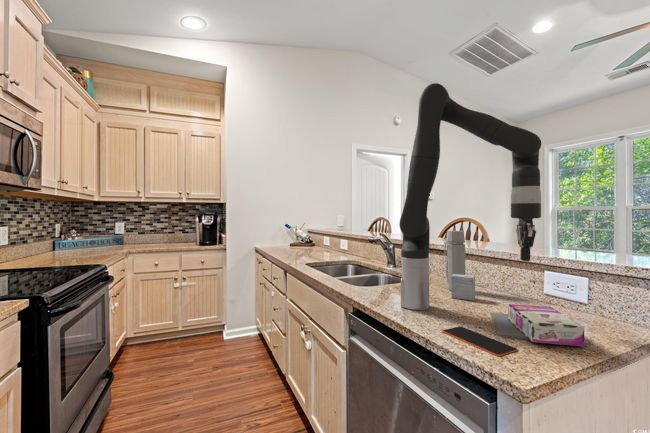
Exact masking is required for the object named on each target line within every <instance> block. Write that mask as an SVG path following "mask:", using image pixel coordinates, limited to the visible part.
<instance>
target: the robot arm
mask: <svg viewBox="0 0 650 433" xmlns="http://www.w3.org/2000/svg"><path fill="white" fill-rule="evenodd" d="M417 114H418V115H417V126H416V132H415V135H414V140H413V144H412V145H413V146H412V152H411V155H410V162H409V170H408V177H407V178H408V179H407V185H406V196H405V201H404V206H403V208H402V213H401V216H400V219H399V225H398V226H399V229H400V232H401V233H402V246H401V248H400V250H401V251H400V256H401V262H400V263H401V279H400V307H401V308H405V309H408V310H414V311H422V310H423V311H425V310H429V309H430V235H431V234H430V231H431V230H430V228H431V227H430V221H429V218H428V205H429V199H430V195H431V193H432V189H433V188H434V184H435V181H436V178H437V174H438V171H439V170H438V168H439V163H440V158H441V157H440V156H441V139H440V138H441V136H440V135H441V132H440V130H441V128H440V127H441V123H442V121H443V122H446V123H449V124H452V125H454V126H456V127H458V128H460V129H463V130H464V131H466V132H468V133H470V134H471V135H474V136H476V137H478V138H479V139H482V140H483V141H485V142H486V143H489V144H491V145H494V146H500V147H502V148H504V149H506V150H508V151H510V152H511V156H512V157H511V158H512V159H511V161H512V175H511V191H510V192H511V194H510V218H512V219H518V224H516V229H515V232H516V237H517V238H516V239H517V243H518V245H519V248H520V256H519V257H520V260H521V261H523V262H530V261H531V249H532V248H533V247H534V243H535V238H536V234H537V230H536V226H535V224H534V221H533V219H541V217H542V191H541V171H540V168H539V161H540V160H539V159H540V158H539V157H540V150H541V148H542V140H541V137H540V136H538V135H537V134H536V133H534V132H532V131H530V130H527V129H525V128H522V127H519V126H516V125H515V126H514V125H511V124H509V123H507V122H505V121H503V120H501V119H499V118H498V117H497V118H496V116H492V115H491V114H487V113H485V112H481V111H476V110H473V109H470V108H467V107H465V106H463V105H461V104H459V103H458V102H457V101H454V100H453V99H452V98H451V96H450V94H449V92H448V90H447V88H446V87H445V86H444V85H442V84H440V83H437V82H435V83H431V84H428V85H427V86H426V87H425V88H423V90H422V92H421V93H420V96H419V98H418V113H417Z"/></svg>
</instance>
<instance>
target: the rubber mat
mask: <svg viewBox="0 0 650 433" xmlns="http://www.w3.org/2000/svg"><path fill="white" fill-rule="evenodd" d="M490 317H491V319H492V321H493V323H494V324H493V325H494V326H495V329H496V331H497V332H498V335H499V337H501V338H508V339H515V340H517V339H518V340H525V341H530V340H529V339H528V338H527V337H526V336H525V335H524V334H523V333H522V332H521V331H520V330H519V329H518V328H517V327H516V326H515V325H513V324H512V323H511V322H510V321H509V320H508V313H499V312H490ZM581 347H584V348H588V344H587V343H586V342H585V341H584V346H581Z"/></svg>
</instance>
